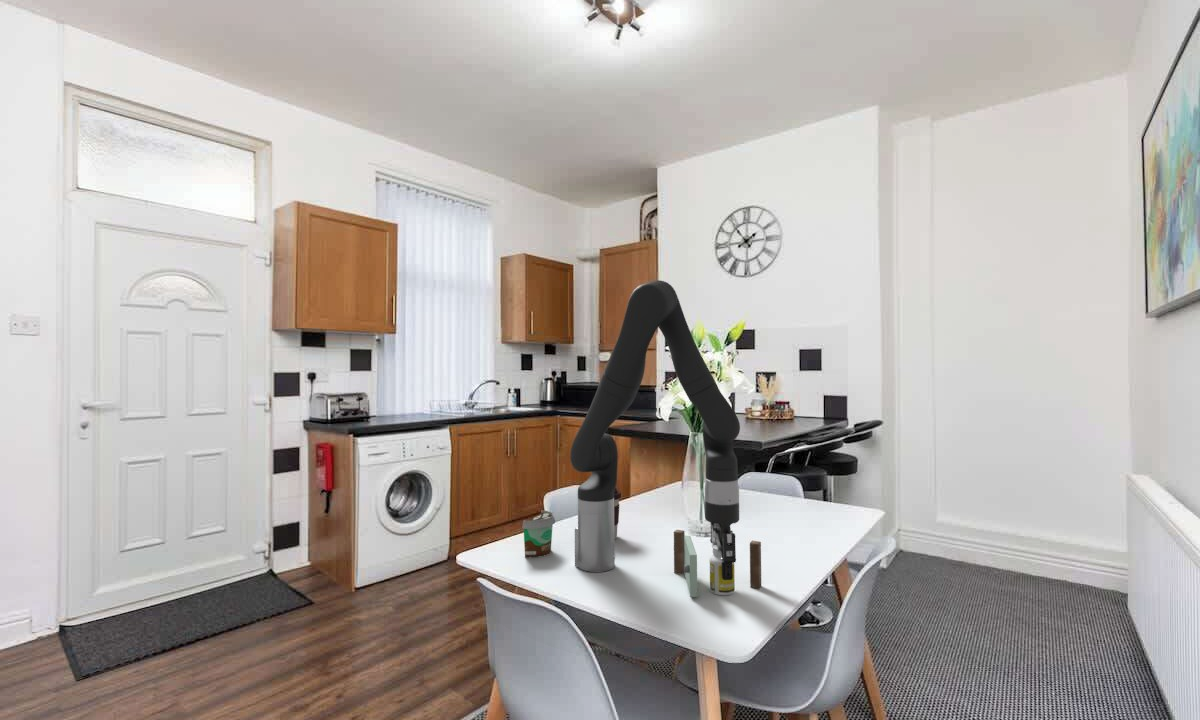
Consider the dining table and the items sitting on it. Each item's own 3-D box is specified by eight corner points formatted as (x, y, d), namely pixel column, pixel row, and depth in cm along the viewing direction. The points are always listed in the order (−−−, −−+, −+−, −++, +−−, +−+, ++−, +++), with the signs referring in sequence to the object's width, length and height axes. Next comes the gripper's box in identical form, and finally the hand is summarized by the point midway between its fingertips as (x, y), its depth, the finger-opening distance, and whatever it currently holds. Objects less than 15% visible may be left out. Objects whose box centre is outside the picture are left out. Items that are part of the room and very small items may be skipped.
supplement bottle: (739, 590, 123) (738, 546, 123) (727, 598, 119) (726, 552, 119) (717, 584, 127) (717, 541, 127) (705, 591, 123) (704, 547, 123)
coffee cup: (602, 530, 170) (601, 481, 171) (628, 536, 164) (627, 486, 164) (581, 538, 163) (580, 487, 163) (607, 544, 157) (606, 491, 157)
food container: (543, 561, 143) (543, 522, 144) (522, 559, 145) (522, 520, 146) (562, 547, 155) (562, 511, 155) (542, 544, 157) (542, 509, 157)
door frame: (674, 573, 134) (673, 531, 135) (677, 570, 136) (676, 529, 136) (759, 588, 124) (758, 544, 124) (761, 585, 126) (760, 541, 126)
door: (679, 573, 133) (679, 535, 133) (690, 573, 133) (690, 535, 133) (685, 596, 119) (684, 554, 119) (697, 597, 119) (696, 555, 119)
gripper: (747, 506, 116) (748, 584, 116) (730, 492, 130) (731, 561, 130) (711, 507, 116) (712, 584, 116) (699, 492, 130) (699, 561, 130)
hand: (722, 572), depth 123 cm, fingers open, 8 cm apart
